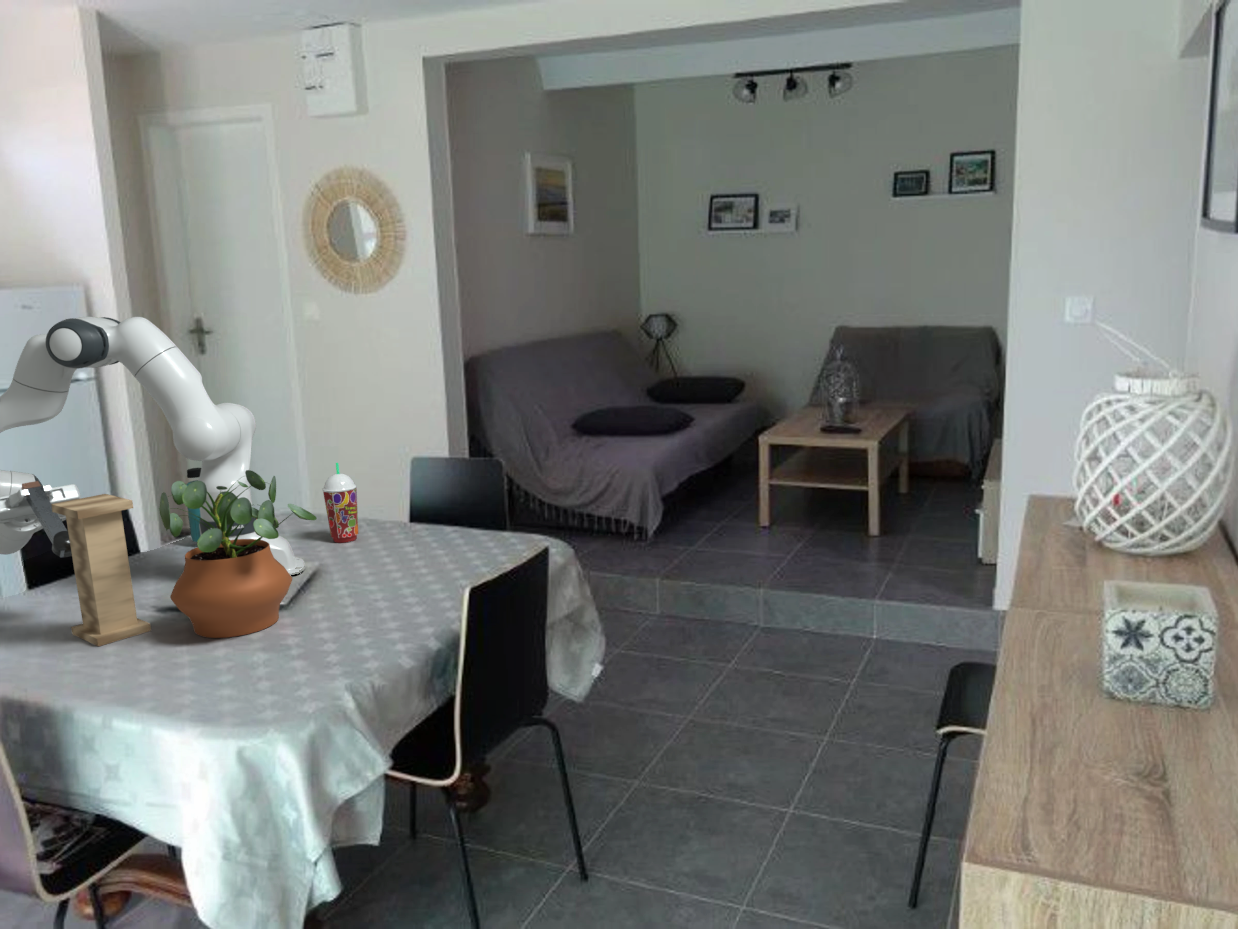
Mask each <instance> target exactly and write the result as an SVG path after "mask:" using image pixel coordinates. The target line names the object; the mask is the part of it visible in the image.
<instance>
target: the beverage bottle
mask: <svg viewBox="0 0 1238 929" xmlns="http://www.w3.org/2000/svg"><path fill="white" fill-rule="evenodd" d="M201 468H202V467H193V468H188V469H186V477H187V478H189V479H196V478H199V477H200V473H201ZM195 481H198V480H197V479H196V480H191V481H188V482H187V483H185V484H186V485H187V484H190V483H192V482H195ZM187 486H188V485H187ZM186 508H187V512H186V513H187V519H188V520H187V521H188V525H189V529H188V530H189V531H190V532H189V533H190V539H191V541H192V542H196V543H197V541H198V539H199V538H200V536H201V535H200V528H199V524H200V523H199V522H198V521H200V518H201V515H200V508H199V509H190V508H188V507H186ZM188 512H190V513H192V514H190V513H188ZM193 514H194V515H193ZM195 515H196V516H195ZM189 516H190V517H189ZM197 516H198V517H200V518H198V517H197ZM191 517H192V518H191ZM193 518H194V519H193ZM195 519H196V520H195ZM197 520H198V521H197Z"/></svg>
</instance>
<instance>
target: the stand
mask: <svg viewBox="0 0 1238 929" xmlns="http://www.w3.org/2000/svg"><path fill="white" fill-rule="evenodd" d="M51 506H52V512H55V513H58V514H62V515H65V516H66V520H65V521H66V525H67V531H68V533H69V540H70V546H71V552H72V556H71V557H72V563H73V564H72V565H73V570H74V571H73V572H74V576H75V582H76V590H77V594H78V602H79V607H80V614H81V621H82V623H80V624H77V625H74V626H70V629H71V634H72V635H73V636H76V637H78V638H79V639H81V640H83V641H86V642H87V643H89V644H92V645H94V646H96V647H98V648H99V647H101V646H105V645H108V644H111V643H115V642H118V641H122V640H124V639H128V638H129V639H130V638H132V637H135V636H138V635H143V634H145V633H149V632H152V626H151V623H150V622H148V621H146V620H143V619H140V618H138V616H137V615H138V614H137V610H136V602H135V601H136V600H135V597H134V588H133V582H132V575H131V568H130V563H129V562H130V561H129V556H128V555H129V554H128V549H127V548H128V547H127V541H126V534H125V529H124V528H125V527H124V521H123V515H122V511H126V510H131V509H134V504H133V500H132V499H128V498H124V497H120V496H116V495H112V494H107V493H102V494H96V495H91V496H86V497H81V499H76V500H70V501H65V502H60V503H55V504H51Z"/></svg>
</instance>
